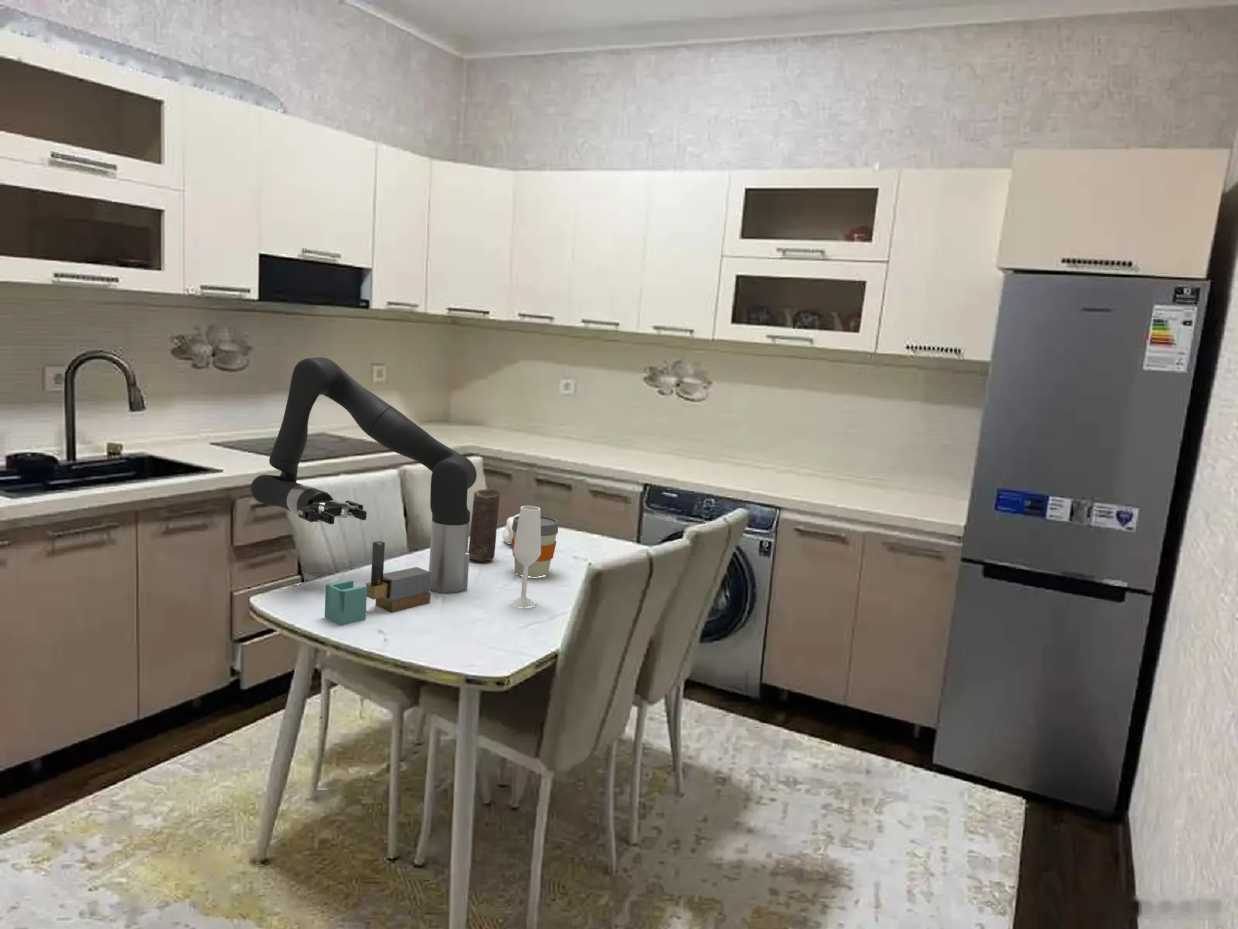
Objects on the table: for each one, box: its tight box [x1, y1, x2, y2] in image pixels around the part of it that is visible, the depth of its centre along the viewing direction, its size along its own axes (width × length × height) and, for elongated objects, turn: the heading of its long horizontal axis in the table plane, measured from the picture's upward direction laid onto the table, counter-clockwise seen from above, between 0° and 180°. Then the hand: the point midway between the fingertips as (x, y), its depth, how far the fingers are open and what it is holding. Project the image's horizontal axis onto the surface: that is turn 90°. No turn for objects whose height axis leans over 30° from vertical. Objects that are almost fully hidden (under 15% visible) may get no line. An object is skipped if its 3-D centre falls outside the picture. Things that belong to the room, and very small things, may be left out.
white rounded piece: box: [502, 513, 520, 545], centre depth 260 cm, size 11×12×9 cm
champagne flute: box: [509, 505, 542, 608], centre depth 206 cm, size 7×7×24 cm
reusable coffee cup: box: [511, 515, 559, 577], centre depth 232 cm, size 13×13×15 cm
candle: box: [468, 488, 501, 563], centre depth 239 cm, size 8×7×20 cm
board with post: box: [365, 540, 390, 601], centre depth 196 cm, size 14×3×12 cm, turn 142°
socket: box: [324, 579, 368, 626], centre depth 187 cm, size 6×6×8 cm
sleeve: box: [375, 566, 432, 614], centre depth 199 cm, size 11×6×8 cm, turn 142°
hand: (349, 518), depth 197 cm, fingers open, 8 cm apart
